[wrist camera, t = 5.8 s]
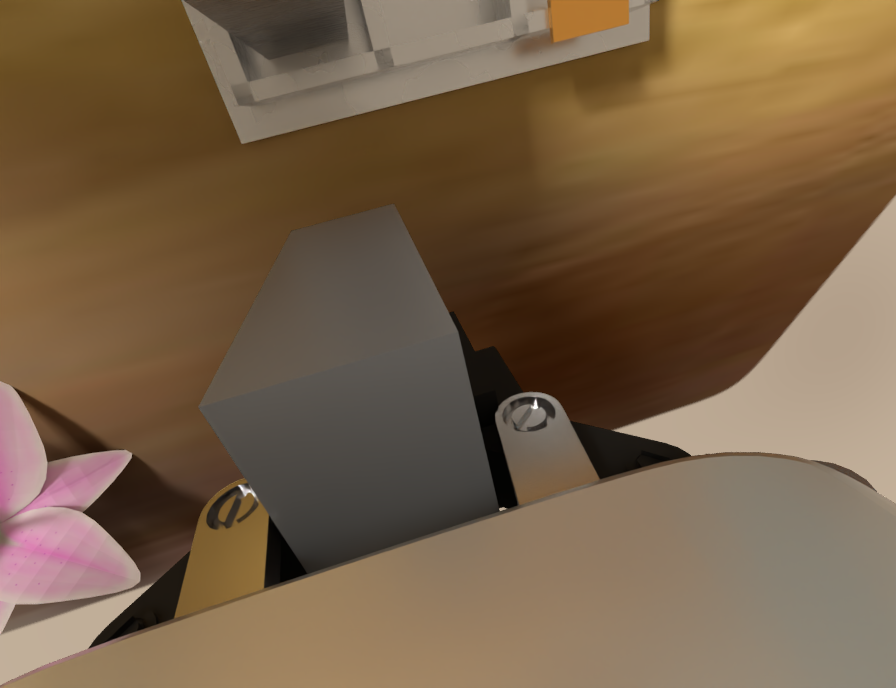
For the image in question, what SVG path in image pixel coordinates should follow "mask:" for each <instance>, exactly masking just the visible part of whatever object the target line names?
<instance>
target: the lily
mask: <svg viewBox="0 0 896 688" xmlns="http://www.w3.org/2000/svg"><path fill="white" fill-rule="evenodd" d="M131 458H132V453H130V452H128V451H127V450H113V451H105V452H97V453H90V454H85V455H79V456H73V457H68V458H64V459H60V460H55V461H51V462H48V463H47V458H46V454H45V450H44V446H43V444H42V441H41V439H40V437H39V434H38V432H37V429H36V427H35V425H34V423H33V421H32V419H31V417H30V415H29V412H28V411H27V409H26V407H25V405H24V403H23V402H22V400H21V398H20V396H19V395H18V394H17V392H16V391H15V390H14V389H13V387H12V386H10V385H8V384H5V383H3V382H0V634H1V632H2V631H3V629H4V627H5V625H6V623H7V621H8V619H9V617H10V615H11V613H12V611H13V609H14V606H15V604H43V603H52V602H61V601H68V600H75V599H82V598H89V597H95V596H101V595H106V594H111V593H116V592H119V591H123V590H126V589H129V588H132V587H133V586H135V585H136V584H137V583H139V582H140V571H139V570H138V568H137V566H136V564H135V563H134V561H133V560H132V559H131V558H130V556H129V555H128V554H127V553H126V552H125V551H124V549H123V548H122V547H121V546H120V545H119V544H118V543H117V542H116V541H115V540H114V539H113V538H112V537H111V536H110V535H109V534H108V533H107V532H106V531H105V530H104V529H103V528H102V527H101V526H100V525H99V524H98V523H97V522H96V521H94V520H93V519H91V518H90V517H88V516H87V515H85V514H84V513H82V512H84V511H85V510H86V509H87V508H88V507H89V506H90V505H91V504H92V503H93V502H94V501H95V500H96V499H97V498H98V497H99V496H100V495H101V494H102V493H103V492H104V491H105V490H106V489H107V488H108V487H109V486H110V485H111V483H112V482H113V481H114V480H115V479H116V478H117V476H118V475H119V474H120V473H121V472H122V470H123V469H124V468H125V467H126V465H127V464H128V462H129V461H130V459H131Z"/></svg>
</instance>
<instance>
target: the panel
mask: <svg viewBox="0 0 896 688" xmlns="http://www.w3.org/2000/svg"><path fill="white" fill-rule="evenodd" d="M199 409H200V410H201V412H202V413H203V415H204V417H205V418H206V420H207V421H208V423H209V424H210V426H211V427H212V429H213V430H214V432H215V433H216V435H217V436H218V438H219V439H220V441H221V442H222V444H223V445H224V447H225V449H226V450H227V452H228V453H229V455H230V456H231V458H232V459H233V461H234V462H235V464H236V465H237V467H238V468H239V470H240V471H241V473H242V474H243V476H244V478H245V479H246V481H247V482H248V484H249V485H250V487H251V488H252V490H253V491H254V493H255V494H256V496H257V497H258V499H259V500H260V502H261V503H262V505H263V507H264V508H265V510H266V511H267V513H268V514H269V516H270V517H271V519H272V520H273V522H274V523H275V525H276V526H277V528H278V529H279V531H280V532H281V534H282V536H283V537H284V539H285V540H286V542H287V543H288V545H289V546H290V548H291V549H292V551H293V552H294V554H295V555H296V557H297V558H298V560H299V561H300V563H301V564H302V566H303V568H304V569H305V571H306V572H307V574H309V573H312V572H315V571H318V570H321V569H325V568H328V567H331V566H334V565H337V564H340V563H343V562H346V561H349V560H352V559H355V558H358V557H361V556H364V555H367V554H370V553H373V552H376V551H379V550H382V549H385V548H388V547H392V546H395V545H398V544H401V543H404V542H407V541H410V540H413V539H416V538H419V537H422V536H425V535H428V534H431V533H434V532H437V531H440V530H444V529H447V528H450V527H453V526H456V525H459V524H462V523H465V522H468V521H472V520H475V519H478V518H481V517H484V516H487V515H490V514H493V513H496V512H499V511H500V510H499V506H498V502H497V497H496V493H495V489H494V485H493V480H492V476H491V472H490V467H489V463H488V459H487V454H486V450H485V446H484V441H483V437H482V433H481V428H480V424H479V420H478V415H477V411H476V407H475V403H474V398H473V394H472V390H471V385H470V381H469V377H468V372H467V368H466V364H465V359H464V355H463V351H462V346H461V342H460V338H459V333H458V330H457V328H456V326H455V324H454V322H453V320H452V318H451V316H450V314H449V312H448V310H447V308H446V306H445V305H444V303H443V301H442V299H441V297H440V295H439V293H438V291H437V289H436V287H435V285H434V283H433V281H432V279H431V277H430V275H429V273H428V271H427V269H426V267H425V265H424V263H423V261H422V259H421V257H420V255H419V253H418V251H417V249H416V247H415V245H414V243H413V241H412V239H411V237H410V235H409V233H408V231H407V229H406V227H405V225H404V223H403V221H402V219H401V217H400V215H399V213H398V211H397V209H396V207H395V205H394V204H390V205H387V206H383V207H379V208H375V209H372V210H368V211H364V212H360V213H357V214H353V215H349V216H345V217H342V218H338V219H334V220H330V221H327V222H323V223H319V224H315V225H312V226H308V227H304V228H300V229H296V230H293V231H291V232H290V234H289V236H288V238H287V240H286V242H285V244H284V246H283V248H282V250H281V251H280V253H279V255H278V257H277V259H276V261H275V263H274V265H273V267H272V269H271V270H270V272H269V274H268V276H267V278H266V280H265V282H264V284H263V286H262V287H261V289H260V291H259V293H258V295H257V297H256V299H255V301H254V303H253V305H252V306H251V308H250V310H249V312H248V314H247V316H246V318H245V320H244V322H243V323H242V325H241V327H240V329H239V331H238V333H237V335H236V337H235V339H234V341H233V342H232V344H231V346H230V348H229V350H228V352H227V354H226V356H225V358H224V360H223V361H222V363H221V365H220V367H219V369H218V371H217V373H216V375H215V377H214V378H213V380H212V382H211V384H210V386H209V388H208V390H207V392H206V394H205V396H204V397H203V399H202V401H201V403H200V405H199Z"/></svg>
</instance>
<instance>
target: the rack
mask: <svg viewBox="0 0 896 688" xmlns="http://www.w3.org/2000/svg"><path fill="white" fill-rule="evenodd" d="M181 1H182V3H183V6H184V8H185V10H186V13H187V15H188V17H189V20H190V22H191V25H192V27H193V29H194V32H195V34H196V36H197V39H198V41H199V44H200V46H201V48H202V51H203V53H204V55H205V58H206V60H207V63H208V65H209V67H210V70H211V72H212V74H213V77H214V79H215V82H216V84H217V86H218V89H219V91H220V93H221V96H222V98H223V101H224V103H225V105H226V108H227V110H228V112H229V115H230V117H231V120H232V122H233V124H234V127H235V129H236V131H237V134H238V136H239V139H240V141H241V143H242V144H245V143H249V142H253V141H257V140H261V139H264V138H268V137H272V136H276V135H280V134H284V133H288V132H292V131H296V130H300V129H304V128H308V127H312V126H315V125H319V124H323V123H327V122H331V121H335V120H339V119H343V118H347V117H351V116H355V115H359V114H363V113H366V112H370V111H374V110H378V109H382V108H386V107H390V106H394V105H398V104H402V103H406V102H410V101H414V100H418V99H421V98H425V97H429V96H433V95H437V94H441V93H445V92H449V91H453V90H457V89H461V88H465V87H469V86H472V85H476V84H480V83H484V82H488V81H492V80H496V79H500V78H504V77H508V76H512V75H516V74H520V73H524V72H527V71H531V70H535V69H539V68H543V67H547V66H551V65H555V64H559V63H563V62H567V61H571V60H575V59H578V58H582V57H586V56H590V55H594V54H598V53H602V52H606V51H610V50H614V49H618V48H622V47H626V46H630V45H633V44H637V43H641V42H645V41H648V40H649V26H650V4H652V3H654V2H657V1H659V0H181Z"/></svg>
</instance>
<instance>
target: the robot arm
mask: <svg viewBox="0 0 896 688" xmlns="http://www.w3.org/2000/svg"><path fill="white" fill-rule="evenodd" d="M449 314H450V316H451V318H452V320H453V322H454V324H455V326H456V328H457V330H458V333H459V338H460V342H461V346H462V351H463V355H464V359H465V364H466V368H467V372H468V377H469V381H470V385H471V390H472V394H473V398H474V403H475V407H476V411H477V415H478V420H479V424H480V428H481V433H482V437H483V441H484V446H485V450H486V454H487V459H488V463H489V467H490V472H491V476H492V480H493V485H494V489H495V493H496V497H497V502H498V506H499V508H502V507H505V508H507V509H506V510H503V511H499V512H496V513H493V514H490V515H487V516H484V517H481V518H478V519H475V520H472V521H468V522H465V523H462V524H459V525H456V526H453V527H450V528H447V529H444V530H440V531H437V532H434V533H431V534H428V535H425V536H422V537H419V538H416V539H413V540H410V541H407V542H404V543H401V544H398V545H395V546H392V547H388V548H385V549H382V550H379V551H376V552H373V553H370V554H367V555H364V556H361V557H358V558H355V559H352V560H349V561H346V562H343V563H340V564H337V565H334V566H331V567H328V568H325V569H321V570H318V571H315V572H312V573H309V574H307V572H306V571H305V569H304V568H303V566H302V564H301V563H300V561H299V560H298V558H297V557H296V555H295V554H294V552H293V551H292V549H291V548H290V546H289V545H288V543H287V542H286V540H285V539H284V537H283V536H282V534H281V532H280V531H279V529H278V528H277V526H276V525H275V523H274V522H273V520H272V519H271V517H270V516H269V514H268V513H267V511H266V510H265V508H264V507H263V505H262V503H261V502H260V500H259V499H258V497H257V496H256V494H255V493H254V491H253V490H252V488H251V487H250V485H249V484H248V482H247V481H246V479H242V480H238V481H236V482H234V483H232V484H230V485H228V486H227V487H225V488H224V489H222V490H221V491H220V492H218V493H217V494H216V495H215V496H214V497H213V498H212V499H211V500H210V501H209V502H208V503H207V505H206V506H205V508H204V509H203V510H202V513H201V515H200V517H199V520H198V524H197V528H196V532H195V536H194V540H193V544H192V548H191V551H190V552H188V553H187V554H186V555H185V556H184V557H183V558H182V559H181V560H180V561H178V562H177V563H176V564H175V565H174V566H173V567H172V568H171V569H170V570H169V571H167V572H166V573H165V574H164V575H163V576H162V577H161V578H160V579H159V580H158V581H156V582H155V583H154V584H153V585H152V586H151V587H150V588H149V589H148V590H146V591H145V592H144V593H143V594H142V595H141V596H140V597H139V598H138V599H137V600H136V601H134V603H132V604H131V605H130V606H129V607H128V608H127V609H126V610H124V611H123V612H122V613H121V614H120V615H119V616H118V617H117V618H116V619H115V620H113V621H112V622H111V623H110V624H109V625H108V626H107V627H106V628H105V629H104V630H103V631H102V632H101V633H100V635H98V636H97V638H96V639H95V640H94V641H93V643H92V644H91V646H90V647H89V648H88V649H87V650H84V651H81V652H79V653H76V654H73V655H70V656H68V657H65V658H62V659H60V660H57V661H54V662H52V663H49V664H47V665H44V666H42V667H40V668H37V669H35V670H33V671H30V672H28V673H26V674H24V675H22V676H19V677H17V678H15V679H12V680H10V681H8V682H6V683H4V684H2V685H0V688H896V504H895V503H894V502H892V501H891V500H889V499H887V498H885V497H884V496H882V495H881V494H879V493H877V491H876V490H875V489H874V488H873V487H872V486H871V485H870V483H869V482H868V481H867V480H866V479H864V478H863V477H861V476H859V475H858V474H856V473H855V472H853V471H852V470H849V469H847V468H844V467H842V466H839V465H836V464H833V463H828V462H822V461H814V460H807V459H803V458H799V457H795V456H788V455H781V454H772V453H759V452H750V453H749V452H748V453H747V452H741V453H739V452H735V453H733V452H725V453H716V454H705V455H697V456H691V455H690V454H688V453H687V452H685V451H683V450H681V449H680V448H678V447H675V446H672V445H669V444H667V443H662V442H658V441H654V440H649V439H645V438H641V437H637V436H632V435H628V434H624V433H619V432H615V431H611V430H607V429H603V428H598V427H594V426H590V425H585V424H581V423H577V422H573V421H569V419H568V417H567V415H566V413H565V411H564V409H563V407H562V406H561V404H560V403H559V402H558V401H557V400H556V399H555V398H553V397H551V396H550V395H547V394H543V393H539V392H526V393H523V391H522V389H521V388H520V386H519V385H518V383H517V381H516V380H515V378H514V377H513V375H512V373H511V372H510V370H509V369H508V367H507V365H506V364H505V362H504V361H503V359H502V358H501V356H500V354H499V353H498V351H497V350H496V348H495V347H494V346H492V347H489V348H485V349H482V350H479V351H474V349H473V347H472V345H471V343H470V341H469V340H468V338H467V336H466V334H465V332H464V330H463V328H462V326H461V324H460V323H459V321H458V319H457V317H456V315H455V313H454V312H450V313H449Z"/></svg>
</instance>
